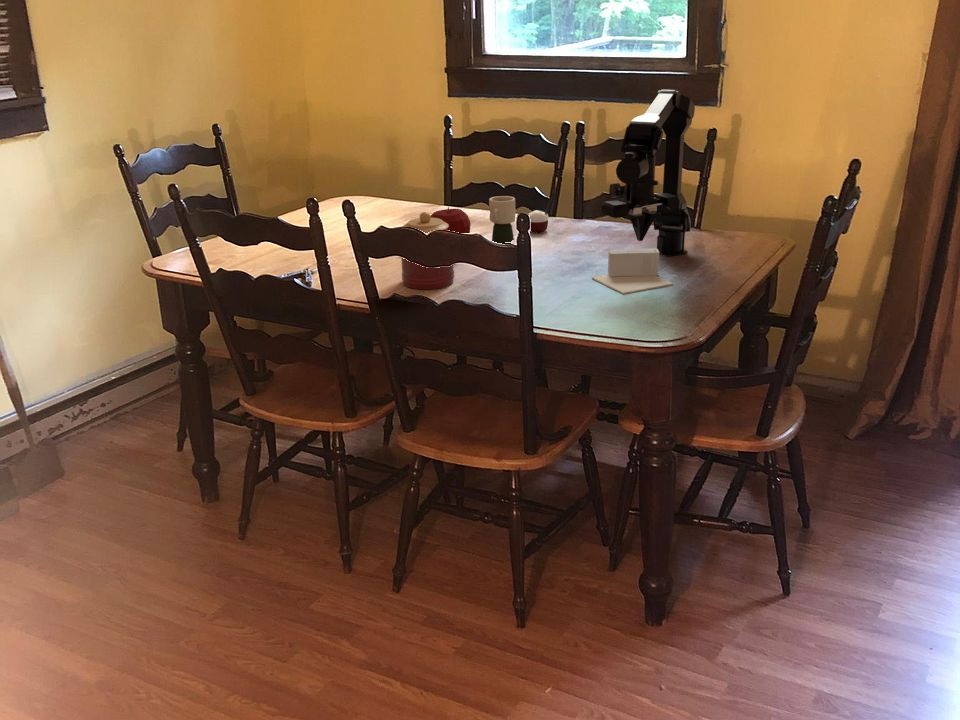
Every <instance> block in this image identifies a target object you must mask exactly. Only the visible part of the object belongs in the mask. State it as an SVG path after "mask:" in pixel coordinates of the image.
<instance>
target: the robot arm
mask: <svg viewBox="0 0 960 720" xmlns="http://www.w3.org/2000/svg"><path fill="white" fill-rule="evenodd" d="M695 109H696V107H695V104H694V102H693V100H692V99H691V98H689V97H688V96H686V95H683V94H681V92H680V91H679V90H677V89H661V90H657V92H656V97H655V99H653V102H652V103H651V104H650V106H649V107H648V109H647V110H646V111H645V113H644V114H641V115H638V116H635V117H634V118H633V119H632V120H630V121H629V123H628V124H627V126H626V128H625V132H624V136H623V141H622V143H621V148H620V153H624V158H623V159H621V160H620V161H619V162H618V164H617V165H616V167H615V174H616V177H617V178H618V180H619V181H620V182H622V183H623V184H625V185H621V184H620V183H619V182H616V183H611V184H609V190H608V192H609V193H608V194H609V197H610V198H613V200H608V201H604V202H603V203H602V205H601V214H603V215H604V216H607V217H610V218H613V219H618V218H624V217H628V219H629V221H630V223H631V225H632V228H633V232H634V234H635V237H636V240H637V241H638V242H643V240H644V239H645V237H646V235H647V233H648V231H649V229H650V228H651V226H652V224H653V230H654V231H658V235H657V236H656V237H657V239H656V248H657V249H658V251H659V254H662V255H664V256H666V257H671V256H678V255H683V254H688V251H689V250H686V249H685V239H686V237H685V236H686V233H687V232H691V226H692V225H691V224H692V220H691V217H690V214H689V210H688V209H687V200H686V199H685V196H684V195H683V193H682V182H683V181H682V179H683V178H682V177H683V164H684V163H683V161H684V145H685V144H684V143H685V134H686V133H687V132H688V130H689V128H690V127H691V125H692V122H693V118H694V116H695V111H696V110H695ZM664 135H665V140H664V141H665V144H664V145H665V146H664V159H663V160H664V162H663V163H664V164H663V181H662V182H663V183H662V193H657V194H655V186H658V185H659V181H658V179H656V153H657V151H658V150H659V149H660V147H661V143H662V140H663V137H664ZM614 198H615V200H614ZM624 201H625V202H624Z"/></svg>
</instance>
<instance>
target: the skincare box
mask: <svg viewBox="0 0 960 720" xmlns="http://www.w3.org/2000/svg"><path fill="white" fill-rule="evenodd" d="M607 258H608V260H607V274H609V276H610V277H621V276H657V277H658V276H659V267H660V266H659V265H660V253H659V251H658V249H657V247H655V248H654V247H653V248H625V249H624V248H622V249H621V248H619V249H608V257H607Z"/></svg>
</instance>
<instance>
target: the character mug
mask: <svg viewBox="0 0 960 720" xmlns="http://www.w3.org/2000/svg"><path fill="white" fill-rule="evenodd" d="M488 207H489V221H490V222H491V223H493V227H492V234H491V235H492V236H491V242H492V241H494V242H497V243H502V244H510V245H512V244H511V243H505V242H511V241H512V240H514V241H515V237H514V230H513V225H512V223H514V222H515V221H516V197H514V196H509V195H501V196H492V197H490V198H489V199H488Z"/></svg>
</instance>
